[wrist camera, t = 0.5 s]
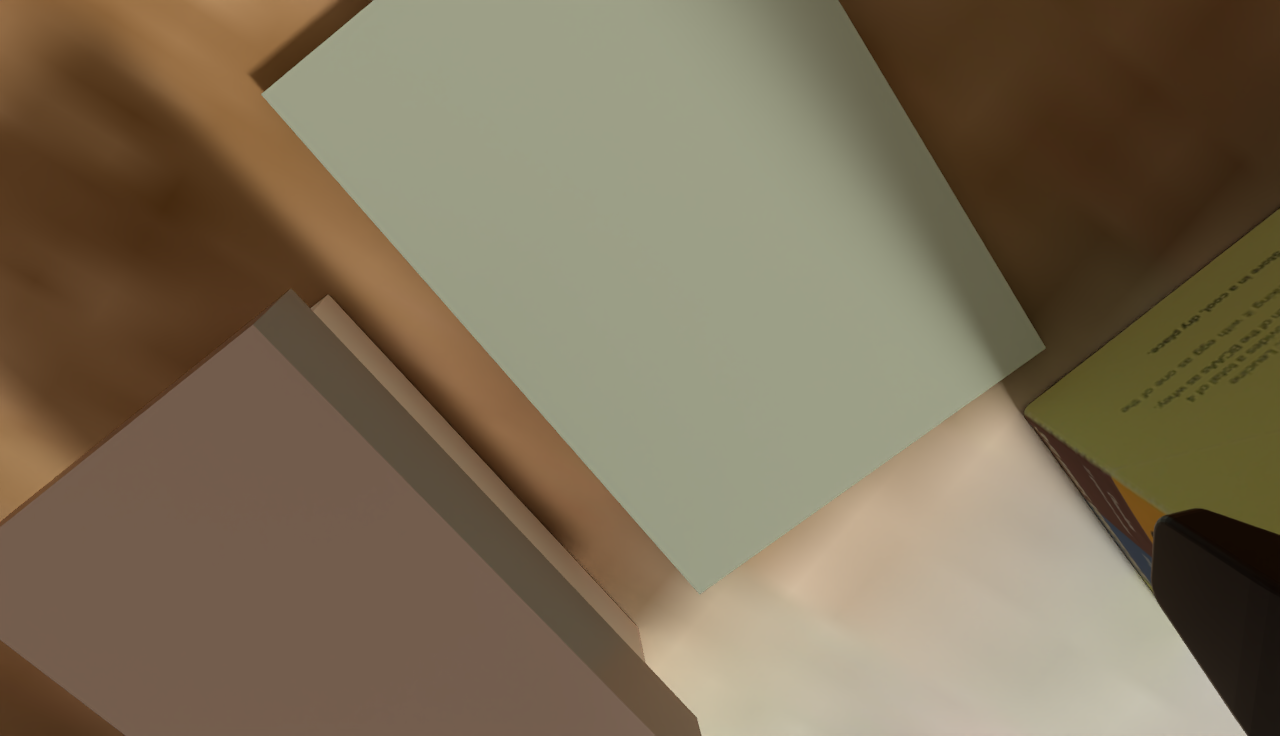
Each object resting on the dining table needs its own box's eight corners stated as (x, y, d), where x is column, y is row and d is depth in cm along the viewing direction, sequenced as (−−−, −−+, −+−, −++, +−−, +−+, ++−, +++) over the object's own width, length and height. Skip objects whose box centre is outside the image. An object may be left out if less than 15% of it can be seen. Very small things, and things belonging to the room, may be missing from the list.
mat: (697, 586, 24) (699, 594, 24) (266, 93, 19) (260, 94, 18) (1037, 343, 23) (1046, 347, 23) (680, -252, 18) (683, -259, 17)
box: (468, 749, 25) (455, 908, 20) (135, 447, 21) (22, 558, 16) (638, 627, 24) (665, 762, 20) (327, 294, 20) (268, 362, 16)
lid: (456, 883, 22) (447, 982, 20) (8, 515, 18) (-73, 584, 15) (696, 717, 21) (717, 799, 19) (291, 288, 17) (252, 324, 14)
